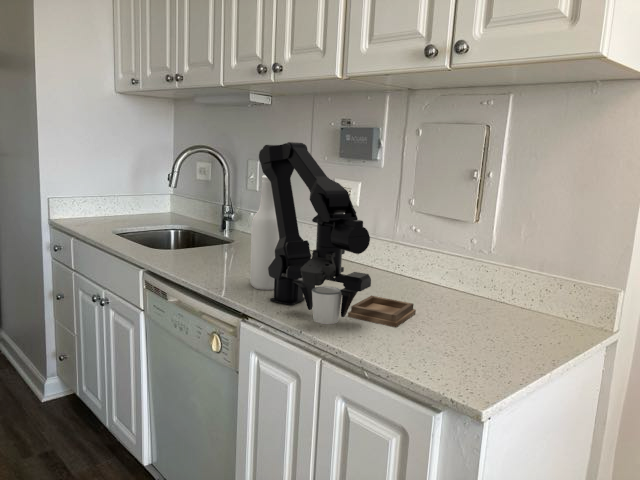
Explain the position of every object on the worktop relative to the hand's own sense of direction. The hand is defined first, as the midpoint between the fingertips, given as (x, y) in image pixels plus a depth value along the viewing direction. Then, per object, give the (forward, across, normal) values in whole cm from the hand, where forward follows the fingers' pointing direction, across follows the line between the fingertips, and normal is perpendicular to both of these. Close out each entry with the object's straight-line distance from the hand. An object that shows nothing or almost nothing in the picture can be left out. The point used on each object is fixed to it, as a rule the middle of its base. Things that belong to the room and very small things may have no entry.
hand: (326, 313), depth 119 cm
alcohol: (+2, -27, +15) cm, 31 cm away
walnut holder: (+2, +9, +11) cm, 14 cm away
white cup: (+2, 0, 0) cm, 2 cm away
